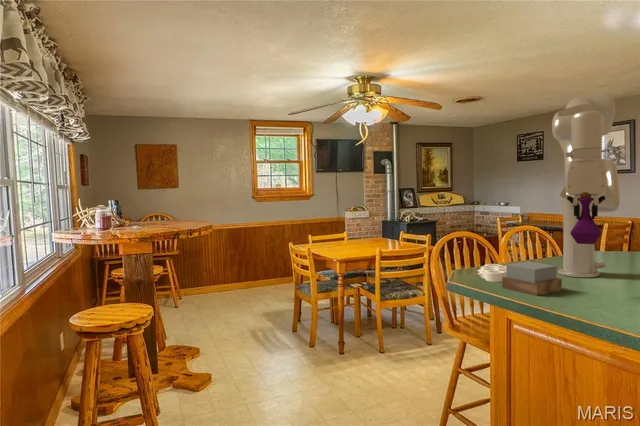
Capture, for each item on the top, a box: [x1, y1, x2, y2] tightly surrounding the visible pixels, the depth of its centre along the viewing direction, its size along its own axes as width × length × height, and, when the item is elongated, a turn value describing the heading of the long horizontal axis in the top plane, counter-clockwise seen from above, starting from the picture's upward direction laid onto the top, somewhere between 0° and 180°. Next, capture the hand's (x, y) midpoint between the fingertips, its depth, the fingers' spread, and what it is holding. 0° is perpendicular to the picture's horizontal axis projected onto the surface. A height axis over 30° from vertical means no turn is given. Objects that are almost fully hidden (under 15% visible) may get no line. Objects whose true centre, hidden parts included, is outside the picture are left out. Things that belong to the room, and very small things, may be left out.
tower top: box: [506, 261, 558, 283], centre depth 136 cm, size 10×10×4 cm
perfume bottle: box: [570, 192, 602, 245], centre depth 127 cm, size 8×8×18 cm
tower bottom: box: [501, 276, 563, 297], centre depth 137 cm, size 12×12×4 cm
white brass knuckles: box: [477, 263, 507, 283], centre depth 156 cm, size 3×18×15 cm
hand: (585, 218), depth 127 cm, fingers closed on perfume bottle, 3 cm apart
